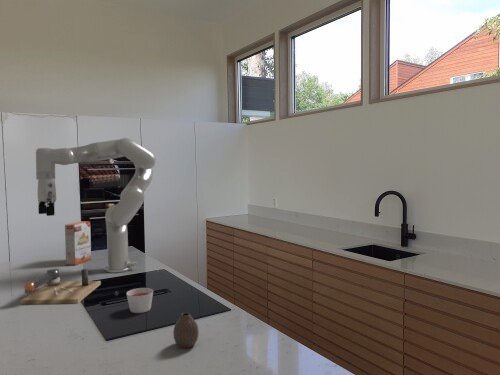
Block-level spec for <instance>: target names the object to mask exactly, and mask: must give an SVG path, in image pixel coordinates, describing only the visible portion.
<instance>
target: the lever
mask: <svg viewBox="0 0 500 375" xmlns="http://www.w3.org/2000/svg"><path fill="white" fill-rule="evenodd" d="M58 277H60V269H59V268H51V269H48V270H46V272H45V273H44V274H42V275H40V276H38V277H37V278H35V279H32V280H31V281H27V282H24V284H23V285H24V293H25V294H32V293H33V292H35V291H36V290H37V289H39V287H41V286H44V285H45V284H47V282H48V281H50V280H51V279H55V278H58Z"/></svg>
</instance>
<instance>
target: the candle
mask: <svg viewBox="0 0 500 375" xmlns="http://www.w3.org/2000/svg"><path fill="white" fill-rule="evenodd" d="M153 296H154V289H152V288H148V287H139V288H133V289H130V290H128V291H126V298H127V302H128V306H129V311H130V312H131V313H134V314H142V313H146V312H147V313H148V312H149V311H150V310H151V308H152V303H153V302H152V301H153Z"/></svg>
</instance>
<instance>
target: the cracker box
mask: <svg viewBox="0 0 500 375" xmlns="http://www.w3.org/2000/svg"><path fill="white" fill-rule="evenodd" d="M64 234H65V237H64V239H65V241H64V242H65V246H64V247H65V266H77V265H79V264H81V263H84V262H88V261H89V260H92V251H91V250H92V241H91V238H92V236H91V221H89V220H88V221H86V220H85V221H84V220H83V221H82V220H81V221H77V222H73V223H68V224H65V225H64Z"/></svg>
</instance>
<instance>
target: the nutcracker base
mask: <svg viewBox="0 0 500 375" xmlns="http://www.w3.org/2000/svg"><path fill="white" fill-rule="evenodd" d="M88 271H89V270H88V268H83V269H81V280H80V281H79V280H78V281H74V280H73V281H61V277H60V276H59V277H58V278H55V279H51V280H50V281H48V282H46V283H45V284H44V285H42V287H40V288H37V289H36V290H35V291H34V292H31V293H29V294H28V295H26V296H25V297H23V298H22V299H20V302H19V303H20V305H45V304H46V305H47V304H48V305H49V304H50V305H52V304H54V305H57V304H58V305H59V304H79V303H80V302H81V301H82V300H84V299H85V298H86V297H88V296H89V295H90V294H91V293H92V292H93V291H95V290H96V289H97V288H98V287H99V286H101V284H102V282H101V280H92V281H91V280H89V272H88Z"/></svg>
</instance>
